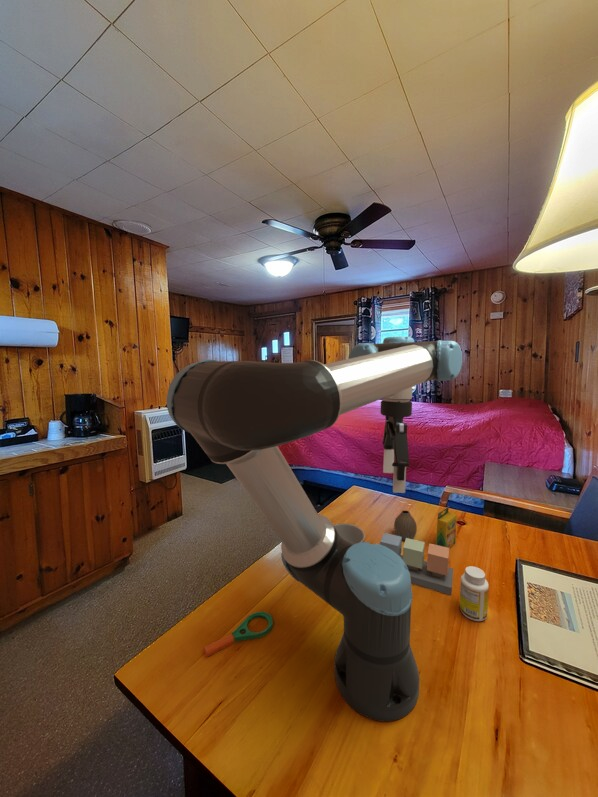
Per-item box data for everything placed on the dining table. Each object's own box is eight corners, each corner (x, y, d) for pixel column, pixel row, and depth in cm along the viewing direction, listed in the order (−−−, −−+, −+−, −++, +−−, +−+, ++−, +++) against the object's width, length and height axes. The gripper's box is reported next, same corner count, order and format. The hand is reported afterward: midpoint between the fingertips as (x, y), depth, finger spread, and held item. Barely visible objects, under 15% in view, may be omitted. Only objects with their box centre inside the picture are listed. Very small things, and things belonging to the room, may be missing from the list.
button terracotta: (447, 575, 80) (448, 558, 80) (426, 570, 82) (427, 553, 82) (448, 564, 84) (449, 548, 84) (428, 559, 87) (429, 543, 86)
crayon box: (445, 554, 95) (446, 517, 93) (435, 549, 97) (436, 513, 95) (455, 544, 100) (457, 508, 98) (446, 540, 102) (447, 505, 100)
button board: (451, 595, 79) (452, 574, 78) (374, 572, 88) (374, 553, 87) (452, 575, 86) (453, 556, 85) (381, 556, 95) (381, 538, 94)
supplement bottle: (478, 603, 76) (480, 563, 75) (492, 622, 71) (495, 580, 69) (454, 603, 76) (456, 563, 75) (466, 623, 71) (469, 580, 69)
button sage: (421, 568, 83) (422, 552, 82) (402, 563, 85) (403, 547, 85) (424, 558, 87) (424, 542, 87) (405, 553, 89) (406, 537, 89)
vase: (398, 529, 109) (398, 504, 107) (419, 535, 105) (419, 510, 103) (390, 539, 103) (391, 513, 102) (412, 546, 99) (413, 519, 98)
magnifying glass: (264, 611, 76) (264, 605, 75) (278, 629, 71) (277, 622, 70) (200, 645, 67) (200, 638, 67) (210, 668, 62) (209, 660, 62)
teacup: (362, 547, 99) (362, 523, 98) (366, 571, 88) (366, 544, 87) (317, 546, 100) (317, 522, 99) (315, 569, 90) (315, 542, 88)
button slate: (398, 562, 86) (398, 546, 85) (380, 557, 88) (380, 541, 87) (401, 552, 90) (401, 536, 89) (384, 548, 92) (384, 532, 92)
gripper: (427, 406, 68) (422, 503, 70) (400, 394, 92) (397, 466, 95) (390, 406, 68) (387, 501, 71) (374, 394, 93) (371, 465, 96)
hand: (393, 481), depth 83 cm, fingers open, 13 cm apart
